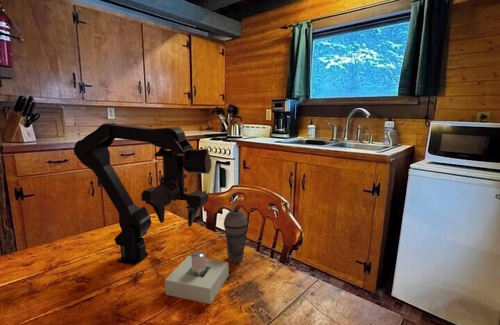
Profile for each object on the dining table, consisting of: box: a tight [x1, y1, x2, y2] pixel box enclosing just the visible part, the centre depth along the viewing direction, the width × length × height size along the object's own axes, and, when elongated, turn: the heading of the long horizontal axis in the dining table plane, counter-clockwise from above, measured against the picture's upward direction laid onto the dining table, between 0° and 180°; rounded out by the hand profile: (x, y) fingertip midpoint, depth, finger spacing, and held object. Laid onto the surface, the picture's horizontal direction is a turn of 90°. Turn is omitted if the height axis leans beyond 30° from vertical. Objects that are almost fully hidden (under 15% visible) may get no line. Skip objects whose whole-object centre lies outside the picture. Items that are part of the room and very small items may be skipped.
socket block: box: [164, 255, 229, 305], centre depth 71 cm, size 12×12×4 cm
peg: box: [191, 250, 207, 278], centre depth 71 cm, size 4×4×8 cm
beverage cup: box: [223, 195, 249, 263], centre depth 83 cm, size 7×7×20 cm
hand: (175, 224), depth 80 cm, fingers open, 9 cm apart
